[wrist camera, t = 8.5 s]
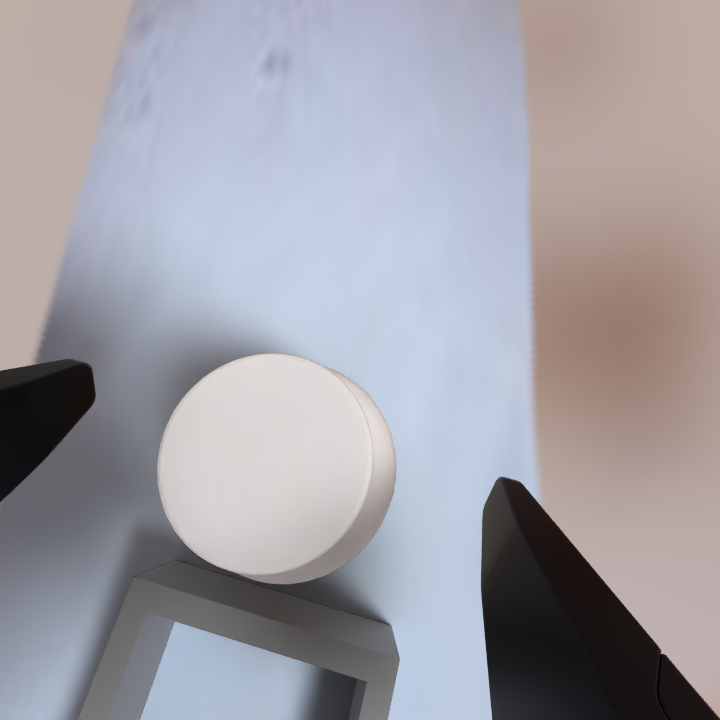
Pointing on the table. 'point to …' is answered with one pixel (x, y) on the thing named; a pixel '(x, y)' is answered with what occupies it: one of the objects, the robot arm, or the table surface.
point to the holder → (236, 638)
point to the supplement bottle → (276, 468)
